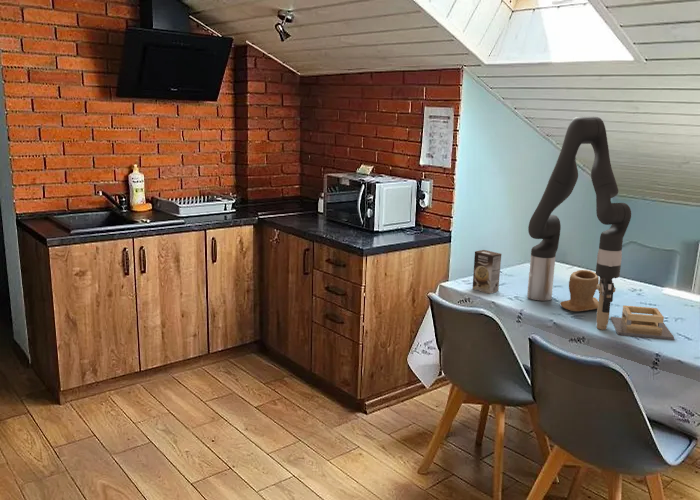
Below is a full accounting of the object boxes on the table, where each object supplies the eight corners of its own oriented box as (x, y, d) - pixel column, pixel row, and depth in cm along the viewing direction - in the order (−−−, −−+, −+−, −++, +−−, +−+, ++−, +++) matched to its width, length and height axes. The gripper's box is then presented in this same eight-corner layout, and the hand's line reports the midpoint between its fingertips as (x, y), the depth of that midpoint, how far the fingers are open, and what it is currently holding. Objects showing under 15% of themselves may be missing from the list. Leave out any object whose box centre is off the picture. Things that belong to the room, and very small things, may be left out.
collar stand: (617, 334, 204) (620, 316, 203) (610, 319, 219) (612, 302, 218) (673, 340, 200) (676, 321, 198) (662, 323, 215) (664, 306, 214)
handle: (601, 324, 213) (605, 283, 210) (613, 331, 207) (618, 288, 204) (589, 325, 212) (593, 284, 209) (601, 332, 206) (606, 289, 203)
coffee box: (471, 289, 254) (473, 251, 250) (481, 286, 258) (483, 249, 255) (489, 294, 247) (492, 255, 244) (499, 291, 252) (502, 253, 248)
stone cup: (575, 316, 222) (579, 276, 218) (555, 306, 233) (559, 268, 230) (610, 312, 226) (614, 273, 223) (588, 303, 237) (592, 265, 234)
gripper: (594, 256, 212) (589, 301, 216) (599, 266, 199) (594, 314, 202) (617, 258, 210) (612, 303, 214) (624, 268, 197) (619, 316, 200)
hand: (603, 308), depth 208 cm, fingers open, 8 cm apart
